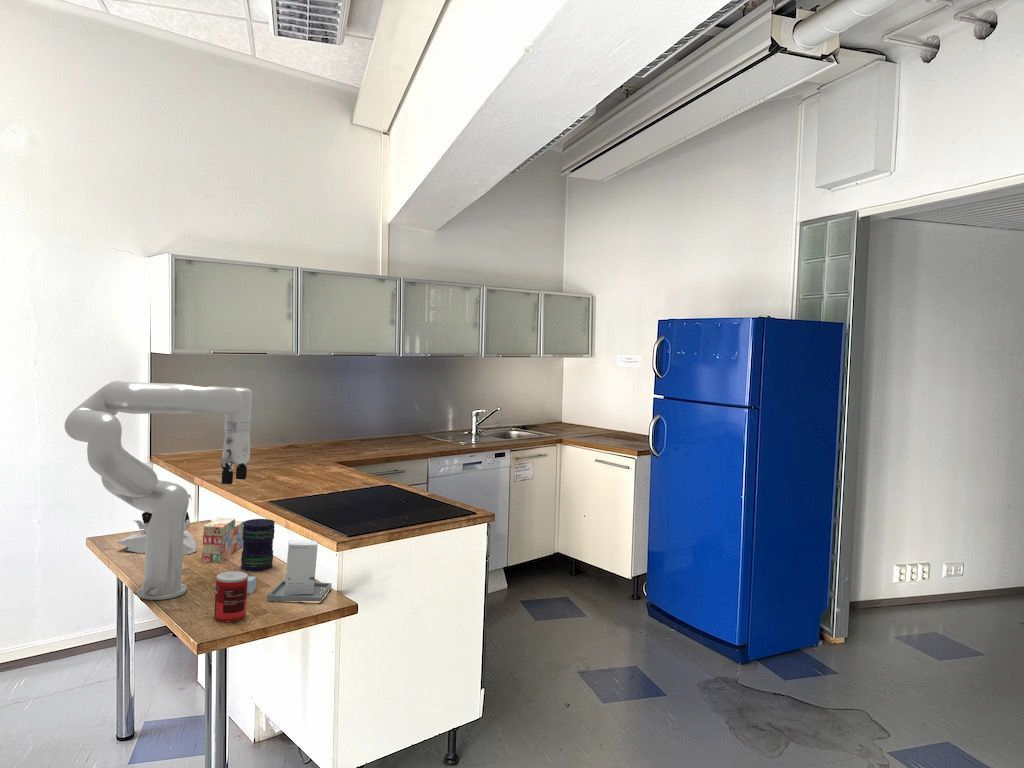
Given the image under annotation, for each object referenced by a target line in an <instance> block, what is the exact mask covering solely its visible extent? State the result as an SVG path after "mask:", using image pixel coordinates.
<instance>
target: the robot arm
mask: <svg viewBox="0 0 1024 768" xmlns="http://www.w3.org/2000/svg"><path fill="white" fill-rule="evenodd" d="M252 404H253V391H252V390H251V389H250V388H247V387H227V386H217V385H216V386H215V385H211V386H207V387H205V386H196V385H189V384H183V383H161V382H160V383H159V382H157V383H156V382H133V381H123V380H122V381H121V380H114V381H111V382H109V383H107V384H105V385H103V386H102V387H101V388H100V389H98V390H96V392H94V393H93V394H92V395H91V396H89V397H88V398H87V399H85V400H84V401H83V402H82V403H80V404H79V405H78V406H76V407H75V408H74V409H73V410H72V411H70V413H69V414H68V416H67V417H66V419H65V421H64V430H65V433H66V435H68V437H69V438H71V439H73V440H75V441H78V442H83V443H87V446H86V447H87V448H86V450H87V451H86V453H87V454H86V455H87V462H88V465H89V466H90V468H91V469H92V470H93V472H95V473H96V474H97V475H99V476H100V477H101V483H102V486H103V487H104V489H106V490H107V491H108V492H109V493H110V494H112V495H114V496H115V497H116V498H118V499H120V500H122V501H124V503H127V504H128V505H129V506H131V507H133V508H135V509H137V510H139V511H141V512H143V513H144V512H148V513H151V514H152V517H151V519H150V522H149V524H148V527H147V531H146V549H145V554H144V555H145V556H144V567H143V568H144V571H143V572H144V573H143V586H141V587H139V588H138V589H137V590H136V596H137V597H138V598H139V599H142V600H146V601H147V600H149V601H158V600H159V601H161V600H167V599H174V598H177V597H181V596H182V595H185V594H186V593H187V590H188V589H187V588H188V587H187V585H186V584H184V583H182V570H183V556H184V555H183V535H184V527H185V517H186V513H187V512H188V509H189V504H190V496H189V493H188V491H187V490H186V488H184V487H183V486H182V485H180V484H179V483H175V482H171V481H167V480H160V479H158V475H157V473H156V471H155V470H154V469H153V468H151V467H150V466H149V465H147V464H146V463H144V462H143V461H141V460H139V459H138V458H137V457H135V456H134V455H132V454H130V452H129V451H127V450H125V448H124V447H123V445H122V433H123V428H122V423H121V421H120V420H119V418H117V414H118V413H123V414H133V415H135V414H136V415H137V414H138V415H141V414H142V415H144V414H145V415H147V414H149V415H150V414H179V415H180V414H182V415H183V414H184V415H185V414H186V415H187V414H188V415H189V414H224V427H223V428H224V429H223V431H224V438H223V446H222V455H221V457H220V461H221V462H220V463H221V464H220V465H221V466H220V467H221V484H222V485H232V484H233V481H234V471H233V469H234V466H235V465H236V467H235V468H236V470H235V479H236V480H247V472H248V465H249V464H248V462H249V461H250V460H251V435H250V432H251V420H252Z"/></svg>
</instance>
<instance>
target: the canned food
mask: <svg viewBox="0 0 1024 768" xmlns="http://www.w3.org/2000/svg"><path fill="white" fill-rule="evenodd" d="M248 576H249V575H248V573H246V572H245V571H237V570H236V571H235V570H234V571H233V570H231V571H225V572H224V571H223V572H221V573H218V574H217V575H216V578H215V591H214V592H215V593H214V594H215V595H214V609H213V611H214V618H215V619H217V620H216V621H218V620H219V622H222V621H224V622H225V623H228V622H227V621H232V622H236V621H235V620H237V621H240V620H242V619H243V617H244V618H245V616H246V613H247V600H248V599H247V598H248V594H247V585H248ZM239 619H240V620H239Z"/></svg>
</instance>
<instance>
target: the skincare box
mask: <svg viewBox="0 0 1024 768" xmlns="http://www.w3.org/2000/svg"><path fill="white" fill-rule="evenodd" d="M318 546H319V545H318V541H317V540H316V539H313V540H311V539H309V540H308V539H291V540H288V547H287V548H288V549H287V557H286V558H287V560H286V561H287V562H286V571H285V572H286V573H285V580H284V581H285V595H303V594H313V593H314V582H315V578H316V569H317V557H318V556H317V555H318Z"/></svg>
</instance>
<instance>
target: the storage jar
mask: <svg viewBox="0 0 1024 768" xmlns="http://www.w3.org/2000/svg"><path fill="white" fill-rule="evenodd" d="M275 524H276V523H275V520H273V519H268V518H253V519H248V520H247V519H246V520H245V521H244V522H243V537H242V538H243V546H242V551H241V557H240V563H241V566H240V569H241V571H243V570H245V571H244V572H248V571H257V572H256V573H258V571H261V572H266V571H268V569H269V570H271V569H272V568H273V561H274V550H273V546H274V545H273V544H274V539H275ZM270 568H271V569H270ZM265 570H266V571H265Z"/></svg>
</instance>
